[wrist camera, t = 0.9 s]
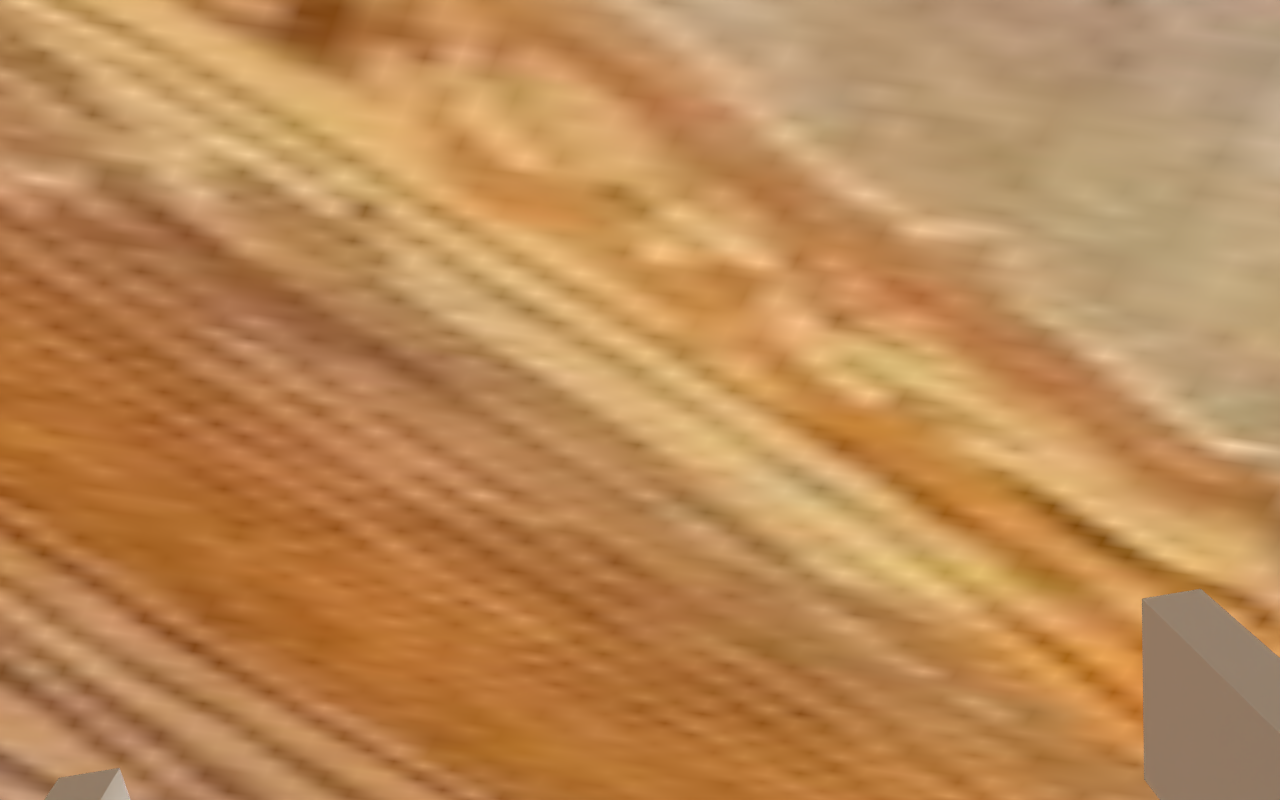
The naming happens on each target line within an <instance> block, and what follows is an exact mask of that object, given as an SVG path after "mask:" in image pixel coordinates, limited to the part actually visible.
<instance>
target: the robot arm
mask: <svg viewBox="0 0 1280 800" xmlns="http://www.w3.org/2000/svg"><path fill="white" fill-rule="evenodd" d="M1142 637H1143V718H1144V780H1145V781H1146V782H1147V784H1148V785H1149V786H1150V787H1151V789H1152V790H1153V791H1154V793H1155V794H1156V795H1157V796H1158V798H1159V799H1160V800H1280V658H1279V657H1278V656H1277V655H1276V654H1275V653H1273V652H1272V651H1271V650H1270V649H1269V648H1268V647H1267V646H1265V645H1264V644H1263V643H1262V642H1261V641H1260V640H1259V639H1257V638H1256V637H1255V636H1254V635H1253V634H1252V633H1251V632H1249V631H1248V630H1247V629H1246V628H1245V627H1244V626H1243V625H1241V624H1240V623H1239V622H1238V621H1237V620H1236V619H1235V618H1233V617H1232V616H1231V615H1230V614H1229V613H1228V612H1226V611H1225V610H1224V609H1223V608H1222V607H1221V606H1220V605H1218V604H1217V603H1216V602H1215V601H1214V600H1213V599H1212V598H1210V597H1209V596H1208V595H1207V594H1206V593H1205V592H1204V591H1202V590H1201V589H1198V590H1192V591H1186V592H1180V593H1174V594H1168V595H1162V596H1156V597H1149V598H1143V599H1142ZM45 800H130V797H129V794H128V791H127V788H126V785H125V782H124V779H123V776H122V774H121V771H120V768H116V769H110V770H104V771H98V772H92V773H86V774H80V775H74V776H68V777H62V778H59V779H58V780H57V782H56V783H55V785H54V786H53V788H52V789H51V791H50V792H49V794H48V795H47V797H46V798H45Z"/></svg>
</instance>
